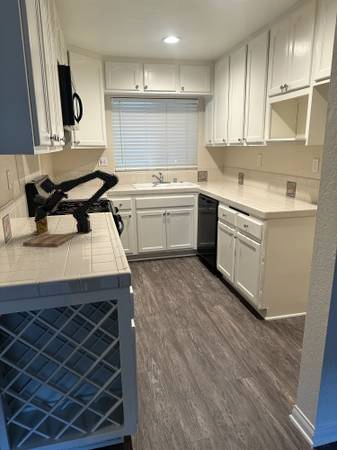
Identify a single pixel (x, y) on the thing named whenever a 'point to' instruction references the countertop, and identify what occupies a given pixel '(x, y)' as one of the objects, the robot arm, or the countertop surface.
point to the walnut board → (48, 240)
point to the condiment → (41, 226)
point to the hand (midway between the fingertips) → (36, 220)
